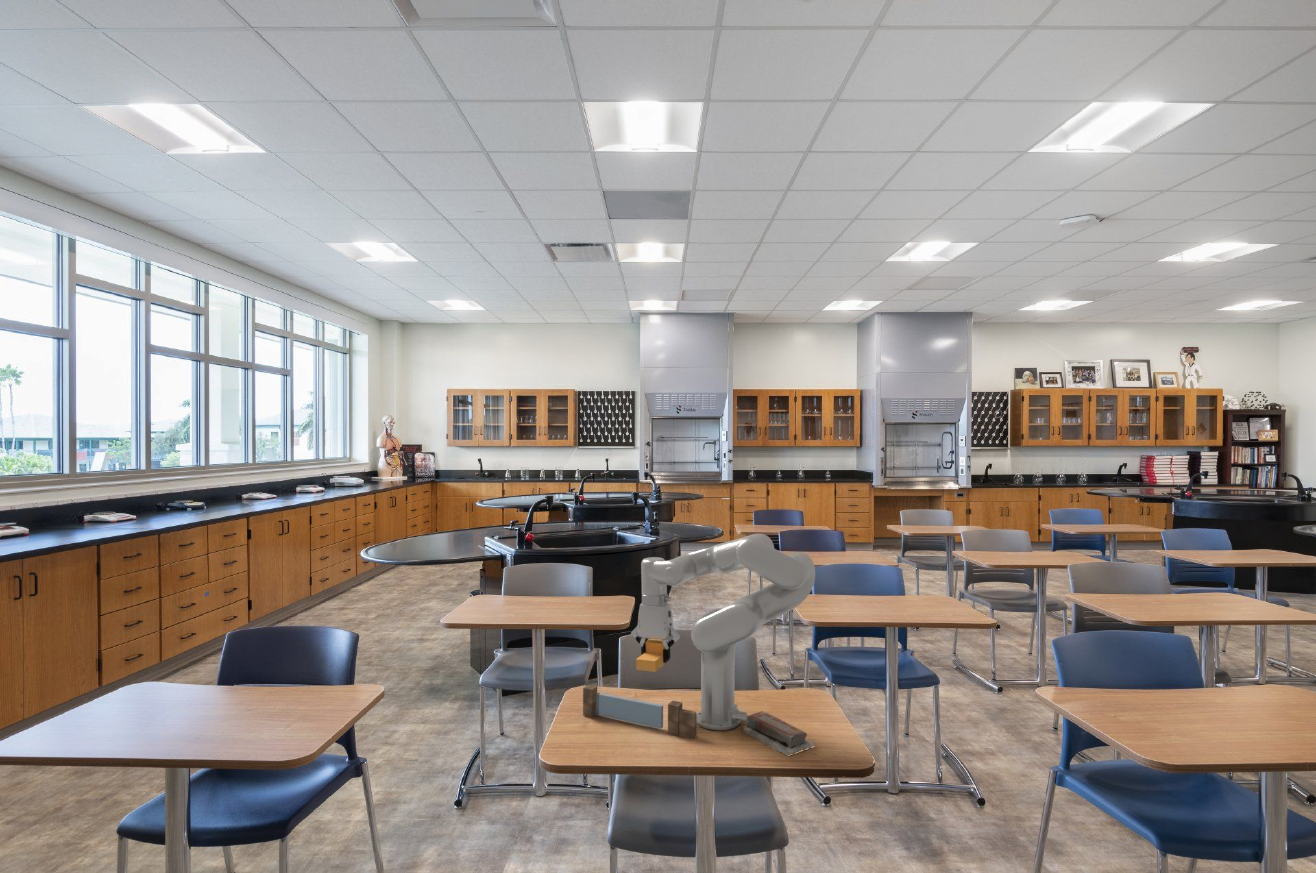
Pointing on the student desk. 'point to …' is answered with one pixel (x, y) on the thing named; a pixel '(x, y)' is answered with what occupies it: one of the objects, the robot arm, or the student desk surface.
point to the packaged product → (777, 733)
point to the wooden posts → (678, 718)
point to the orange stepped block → (651, 656)
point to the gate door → (629, 710)
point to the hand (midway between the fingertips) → (655, 659)
